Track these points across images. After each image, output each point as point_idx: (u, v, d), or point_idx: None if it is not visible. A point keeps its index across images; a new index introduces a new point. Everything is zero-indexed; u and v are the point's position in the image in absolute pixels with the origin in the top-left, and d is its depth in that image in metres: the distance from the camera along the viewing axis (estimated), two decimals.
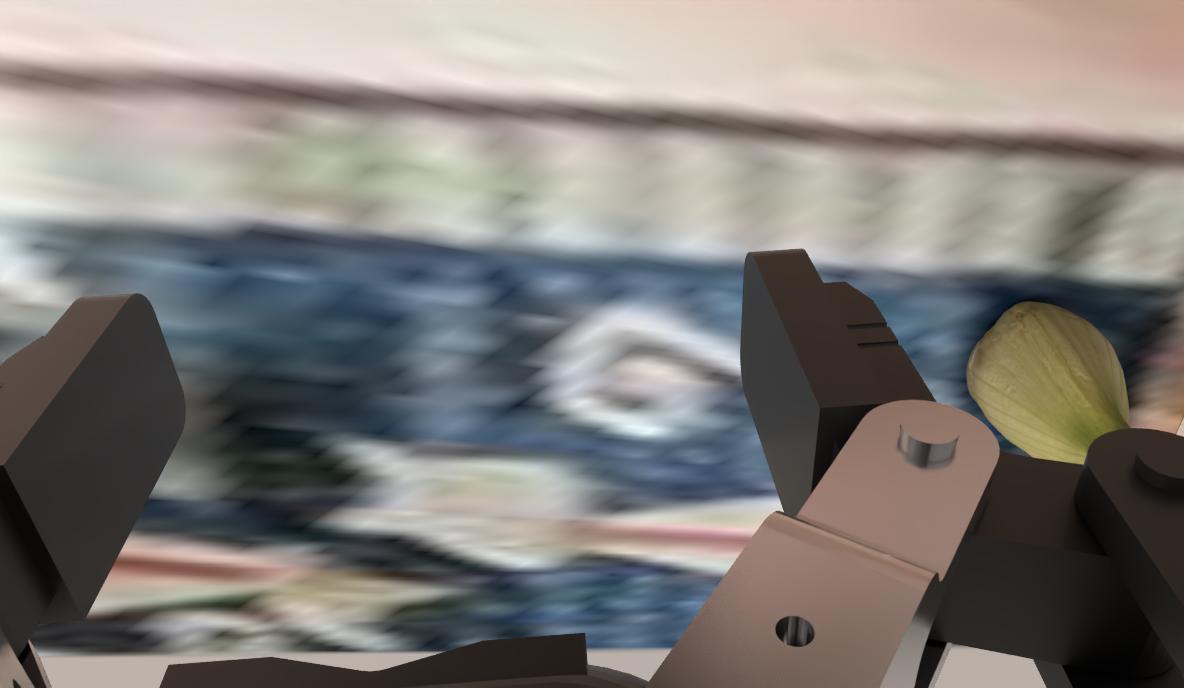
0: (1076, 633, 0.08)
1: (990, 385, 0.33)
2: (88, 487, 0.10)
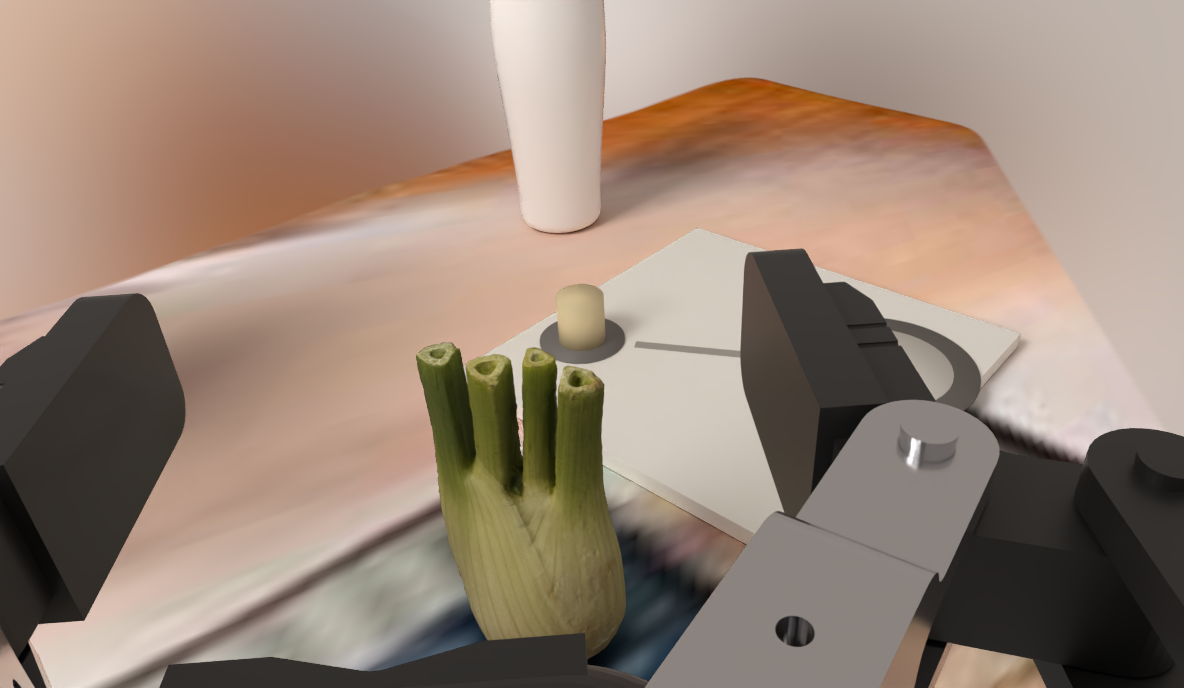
0: (1077, 633, 0.08)
1: (481, 614, 0.30)
2: (88, 487, 0.10)
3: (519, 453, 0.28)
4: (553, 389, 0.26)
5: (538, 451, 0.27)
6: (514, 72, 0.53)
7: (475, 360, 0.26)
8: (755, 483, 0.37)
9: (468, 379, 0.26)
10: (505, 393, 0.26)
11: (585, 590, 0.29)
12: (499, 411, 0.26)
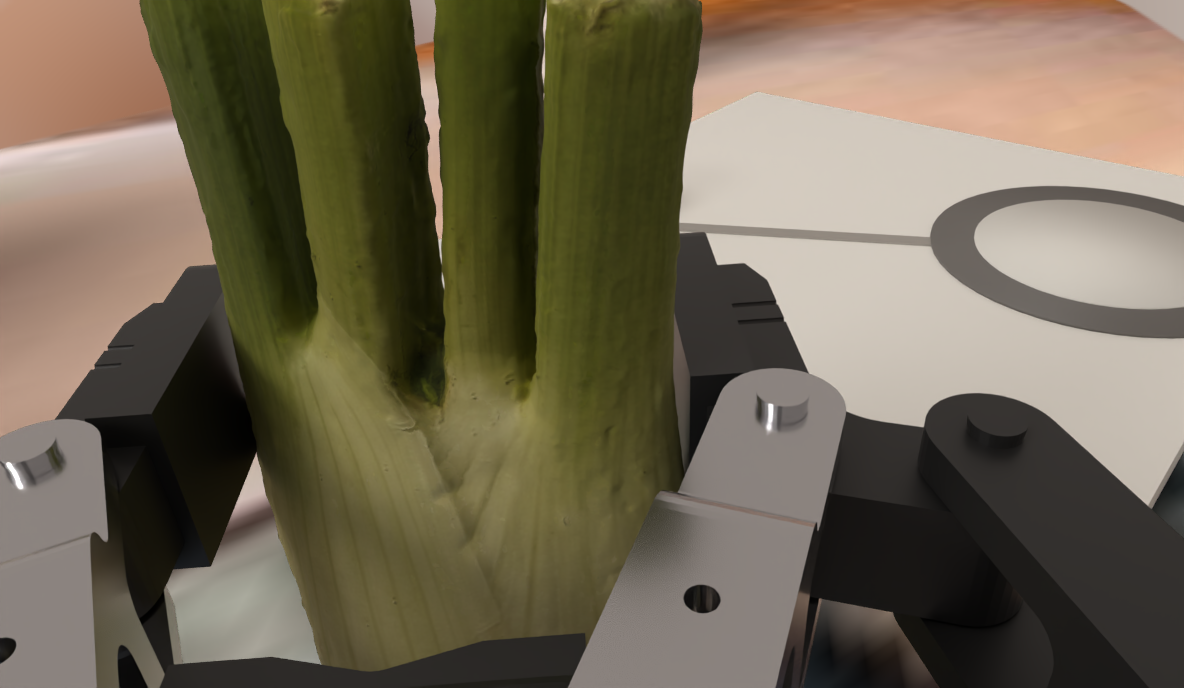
0: (920, 585, 0.09)
1: None
2: (211, 442, 0.11)
3: (440, 292, 0.10)
4: (534, 45, 0.08)
5: (486, 262, 0.09)
6: None
7: None
8: None
9: (264, 6, 0.08)
10: (383, 61, 0.08)
11: None
12: (361, 110, 0.08)
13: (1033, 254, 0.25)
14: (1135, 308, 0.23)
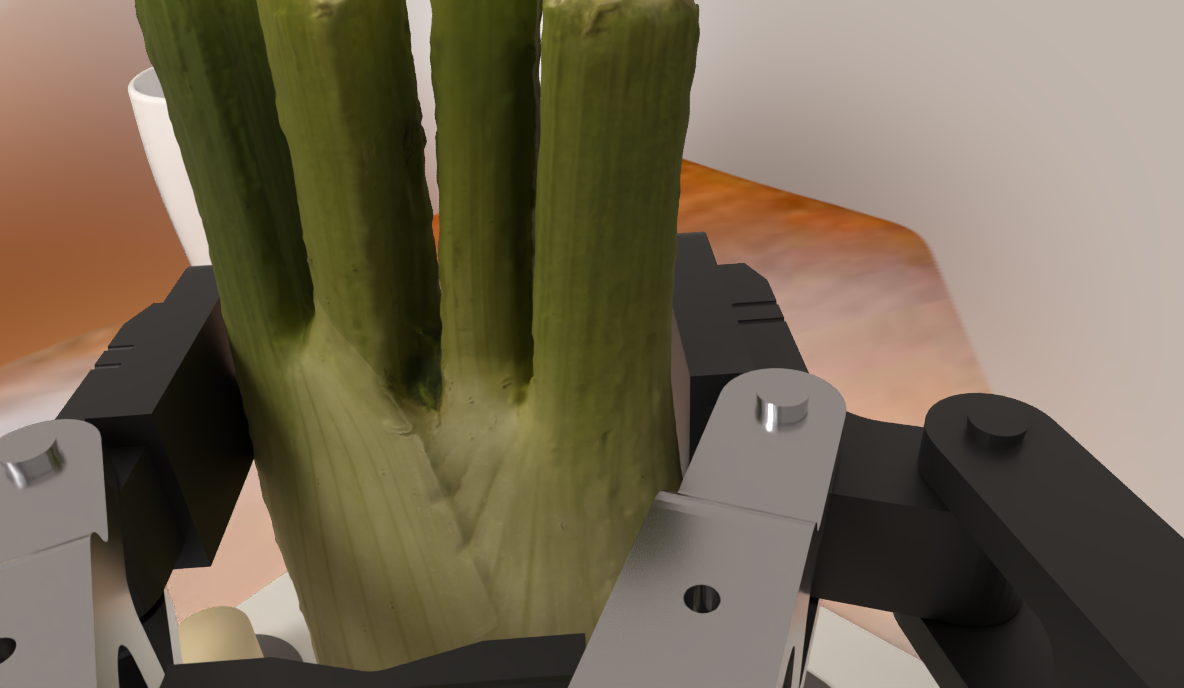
0: (920, 585, 0.09)
1: None
2: (211, 442, 0.11)
3: (437, 295, 0.10)
4: (530, 48, 0.08)
5: (483, 266, 0.09)
6: (177, 211, 0.34)
7: None
8: None
9: (260, 9, 0.08)
10: (379, 64, 0.08)
11: None
12: (356, 113, 0.08)
13: None
14: None
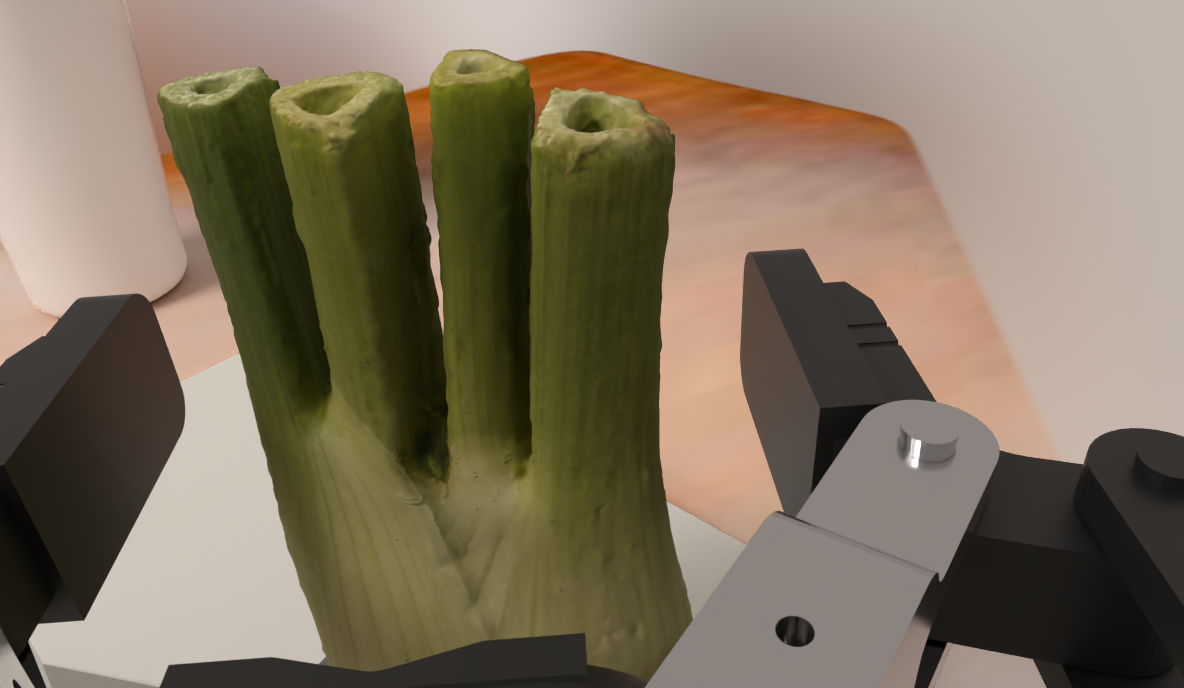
0: (1076, 633, 0.08)
1: None
2: (88, 487, 0.10)
3: (444, 372, 0.11)
4: (523, 167, 0.09)
5: (484, 357, 0.10)
6: None
7: (301, 84, 0.09)
8: None
9: (277, 135, 0.09)
10: (386, 181, 0.09)
11: None
12: (365, 228, 0.09)
13: None
14: None
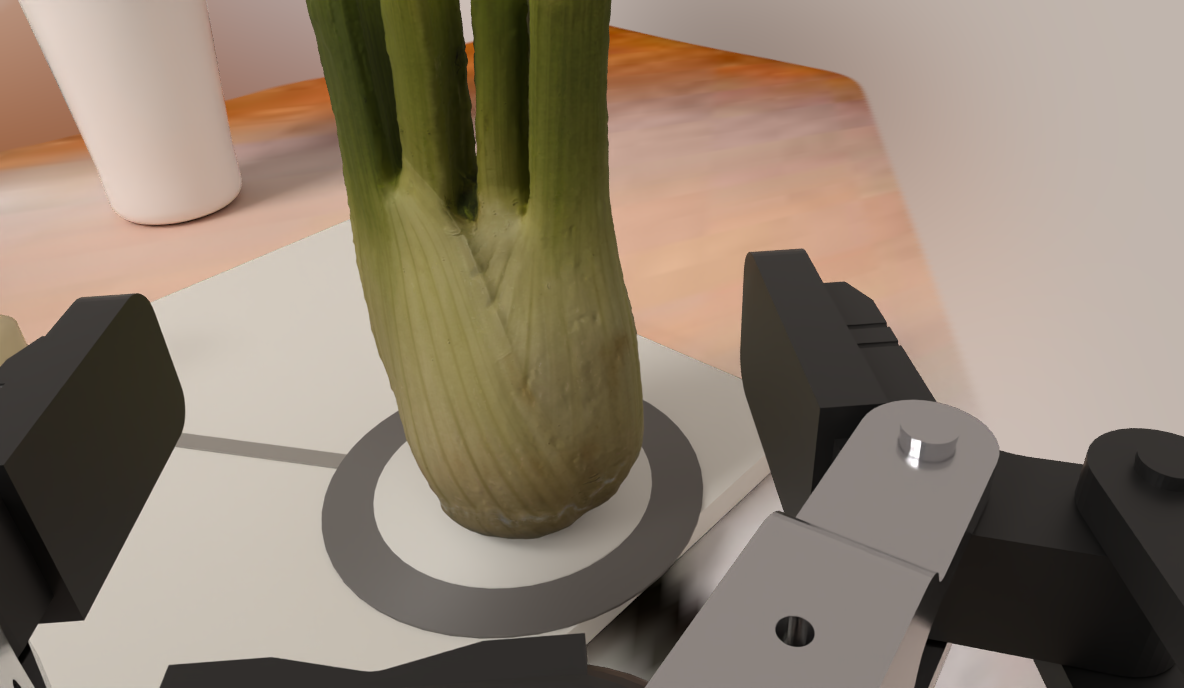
0: (1076, 633, 0.08)
1: (416, 434, 0.19)
2: (89, 487, 0.10)
3: (474, 156, 0.17)
4: (525, 5, 0.15)
5: (500, 130, 0.16)
6: None
7: None
8: None
9: None
10: (443, 15, 0.15)
11: (577, 385, 0.18)
12: (432, 42, 0.15)
13: None
14: (472, 586, 0.19)
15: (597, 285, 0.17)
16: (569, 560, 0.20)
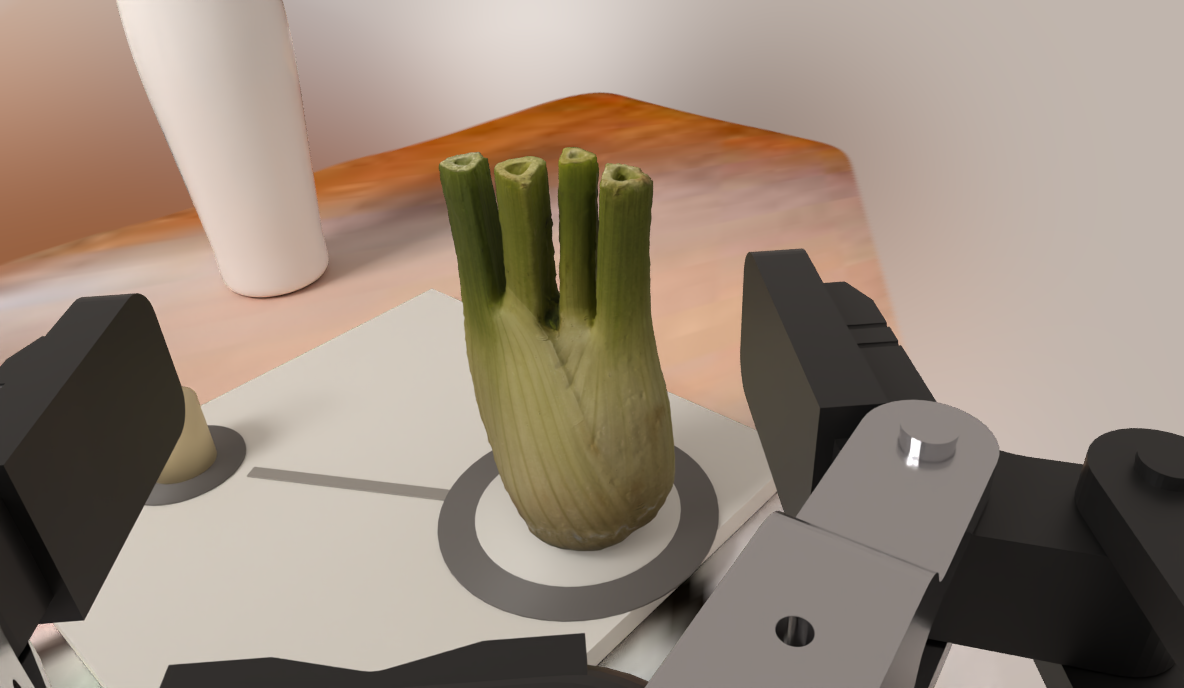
0: (1076, 634, 0.08)
1: (513, 477, 0.27)
2: (88, 487, 0.10)
3: (555, 284, 0.25)
4: (594, 193, 0.23)
5: (577, 272, 0.24)
6: (153, 88, 0.39)
7: (505, 162, 0.23)
8: None
9: (497, 182, 0.23)
10: (539, 200, 0.23)
11: (629, 441, 0.25)
12: (532, 218, 0.23)
13: (517, 515, 0.29)
14: (554, 585, 0.27)
15: (643, 373, 0.25)
16: (623, 566, 0.27)
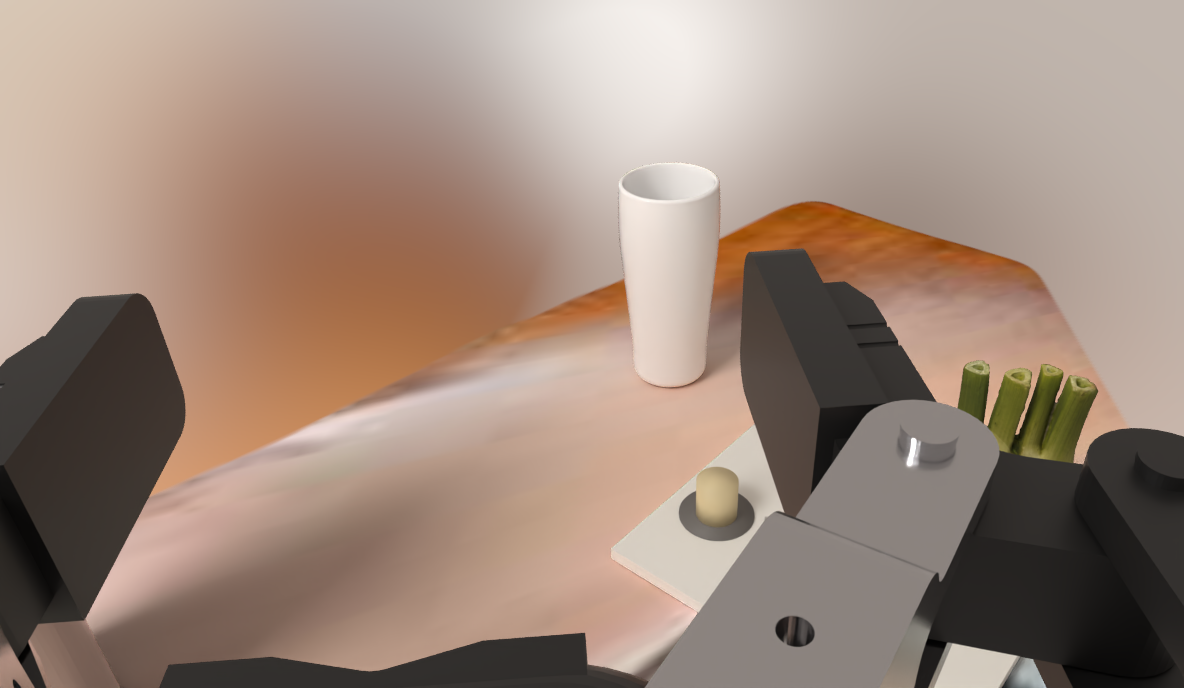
0: (1076, 633, 0.08)
1: None
2: (88, 487, 0.10)
3: None
4: (1058, 389, 0.44)
5: (1039, 427, 0.45)
6: (641, 259, 0.60)
7: (1010, 371, 0.44)
8: None
9: (1007, 383, 0.44)
10: None
11: None
12: (1025, 402, 0.44)
13: None
14: None
15: None
16: None
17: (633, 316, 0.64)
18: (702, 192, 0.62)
